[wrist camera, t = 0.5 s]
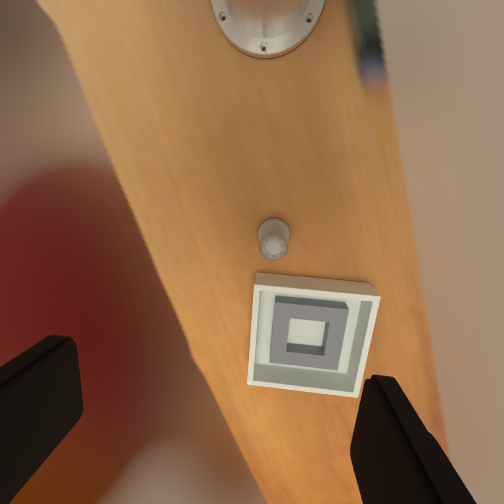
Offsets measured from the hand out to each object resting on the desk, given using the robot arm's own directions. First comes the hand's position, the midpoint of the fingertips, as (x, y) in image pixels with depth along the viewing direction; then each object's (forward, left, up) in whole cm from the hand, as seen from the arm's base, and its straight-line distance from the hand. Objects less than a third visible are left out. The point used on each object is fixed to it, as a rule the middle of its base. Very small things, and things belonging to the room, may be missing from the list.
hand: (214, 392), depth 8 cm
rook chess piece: (+1, +2, -29) cm, 29 cm away
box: (+15, +8, -29) cm, 33 cm away
